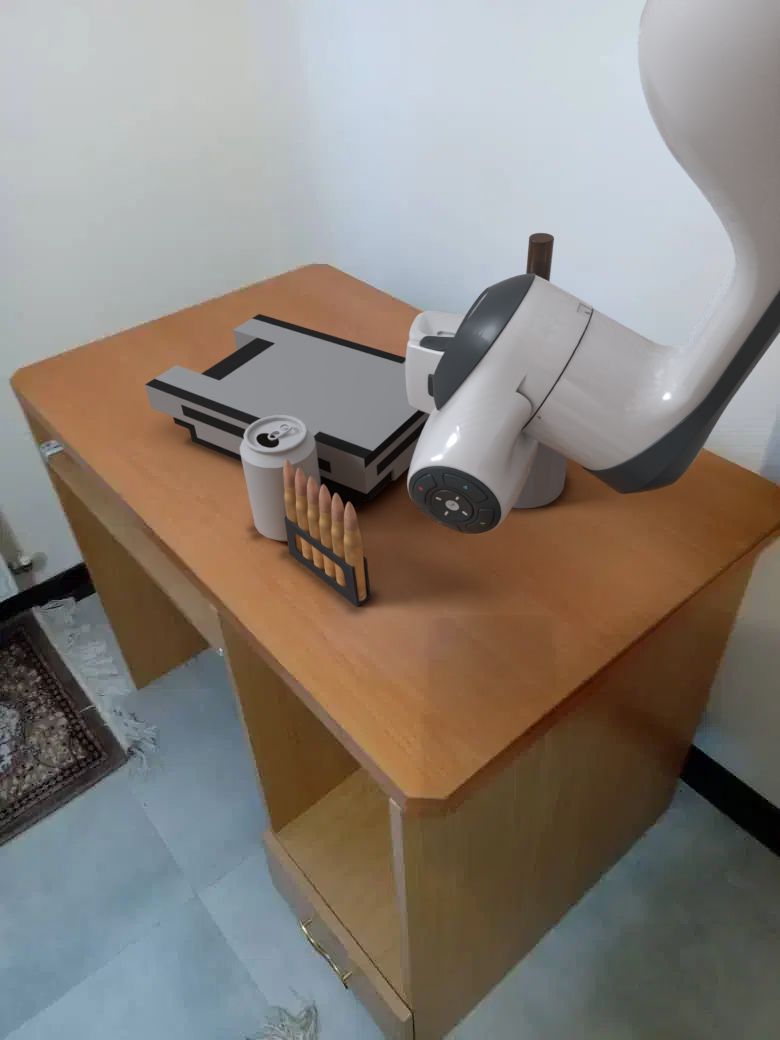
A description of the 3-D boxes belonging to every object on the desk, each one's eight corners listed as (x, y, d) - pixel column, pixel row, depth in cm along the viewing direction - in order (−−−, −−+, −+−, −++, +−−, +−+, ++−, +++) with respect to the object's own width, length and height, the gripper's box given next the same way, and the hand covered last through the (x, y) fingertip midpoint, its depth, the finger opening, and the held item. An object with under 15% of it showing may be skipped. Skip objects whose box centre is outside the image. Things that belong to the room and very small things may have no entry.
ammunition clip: (371, 597, 76) (364, 502, 68) (357, 607, 75) (347, 512, 67) (302, 544, 82) (288, 451, 74) (288, 553, 81) (272, 459, 73)
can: (241, 521, 85) (222, 429, 77) (298, 491, 89) (285, 400, 81) (280, 557, 81) (264, 463, 73) (339, 524, 84) (329, 431, 76)
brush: (544, 402, 83) (562, 232, 71) (538, 418, 81) (556, 245, 69) (513, 397, 84) (527, 228, 72) (507, 413, 82) (520, 242, 70)
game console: (266, 359, 111) (257, 305, 106) (464, 425, 97) (466, 366, 92) (158, 432, 99) (142, 375, 93) (368, 520, 85) (364, 458, 79)
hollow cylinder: (570, 463, 91) (582, 380, 84) (555, 515, 84) (566, 430, 77) (488, 449, 93) (493, 367, 86) (467, 499, 87) (470, 415, 79)
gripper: (636, 374, 62) (652, 297, 71) (389, 340, 67) (435, 272, 77) (623, 440, 66) (640, 358, 76) (391, 402, 71) (435, 331, 81)
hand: (535, 315), depth 76 cm, fingers closed on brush, 2 cm apart
